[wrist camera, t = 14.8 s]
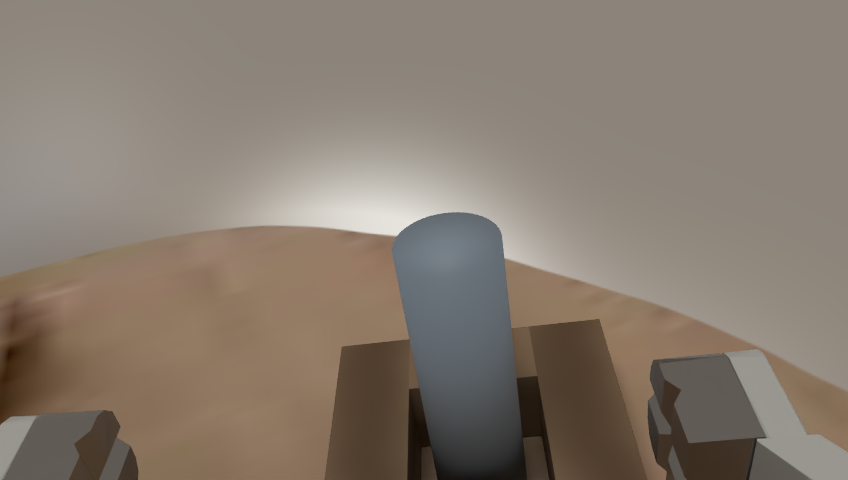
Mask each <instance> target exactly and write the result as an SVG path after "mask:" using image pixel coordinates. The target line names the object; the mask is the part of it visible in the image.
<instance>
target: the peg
mask: <svg viewBox="0 0 848 480" xmlns="http://www.w3.org/2000/svg"><path fill="white" fill-rule="evenodd" d="M392 253H393V258H394V263H395V268H396V273H397V278H398V284H399V289H400V294H401V299H402V304H403V309H404V314H405V319H406V324H407V329H408V334H409V339H410V344H411V349H412V354H413V359H414V364H415V369H416V374H417V379H418V384H419V389H420V394H421V399H422V404H423V409H424V414H425V419H426V424H427V429H428V434H429V439H430V444H431V449H432V454H433V459H434V464H435V469H436V474H437V479H438V480H527V476H526V467H525V457H524V447H523V437H522V428H521V418H520V408H519V398H518V389H517V379H516V369H515V359H514V350H513V340H512V330H511V320H510V311H509V301H508V291H507V281H506V272H505V262H504V253H503V242H502V235H501V232H500V230H499V228H498V227H497V225H496V224H494V223H493V222H492V221H490V220H489V219H487V218H484V217H482V216H479V215H475V214H470V213H459V212H458V213H443V214H437V215H433V216H429V217H426V218H423V219H421V220H418V221H416V222H414V223H413V224H411V225H409V226H408V227H406V228H405V229H404V230H403V231H401V232H400V233H399V235H398V236H397V237H396V239H395V240H394V243H393V247H392Z"/></svg>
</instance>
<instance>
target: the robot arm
mask: <svg viewBox="0 0 848 480" xmlns="http://www.w3.org/2000/svg"><path fill="white" fill-rule="evenodd" d="M650 381H651V384H652V387H653V390H654V393H655V394H654V395H653V396H652V397H651V398H650V399H649V400H648V425H649V435H650V440H651V444H652V449H653V452H654V455H655V459H656V462H657V464H658V465H660V466H661V467H662V468H663V469H665V470H666V471H667V475H666V480H848V452H846V451H845V450H843V449H842V448H840V447H839V446H837V445H835V444H834V443H832V442H831V441H829V440H828V439H826V438H825V437H823V436H821V435H820V434H814V435H808V433H807V431H806V429H805V427H804V426H803V424H802V422H801V420H800V418H799V416H798V415H797V413H796V411H795V409H794V407H793V406H792V404H791V402H790V400H789V398H788V397H787V395H786V393H785V391H784V389H783V387H782V386H781V384H780V382H779V380H778V378H777V377H776V375H775V373H774V371H773V369H772V367H771V366H770V364H769V362H768V360H767V358H766V357H765V355H764V353H762V352H761V351H760V350H758V349H756V350H746V351H736V352H726V353H723V354H720V353H717V354H707V355H697V356H687V357H677V358H667V359H657V360H653V363H652V365H651V372H650ZM119 429H120V424H119V423H118V421H117V419H116V417H115V416H114V414H113V412H112V411H106V410H100V411H84V412H69V413H54V414H42V415H33V416H17V417H10V418H9V419H7V420H6V421H5V422H3V423H2V424H1V425H0V480H138V467H137V462H136V457H135V455H134V453H133V451H132V449H131V446H129V445H128V444H126V443H125V442H123V441H121V440H120V439H118V438H117V434H118V432H119Z"/></svg>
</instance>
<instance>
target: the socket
mask: <svg viewBox="0 0 848 480" xmlns="http://www.w3.org/2000/svg"><path fill="white" fill-rule="evenodd" d="M511 330H512V340H513V350H514V359H515V369H516V379H517V389H518V398H519V408H520V418H521V428H522V437H527V436H537V435H542V438H543V444H544V450H545V456H546V462H547V468H548V474H549V480H647V479H646V475H645V472H644V468H643V465H642V462H641V458H640V455H639V452H638V448H637V445H636V441H635V438H634V435H633V431H632V428H631V425H630V421H629V418H628V415H627V411H626V408H625V404H624V401H623V398H622V394H621V391H620V388H619V384H618V381H617V377H616V374H615V371H614V367H613V364H612V361H611V357H610V354H609V351H608V347H607V344H606V340H605V337H604V334H603V330H602V327H601V324H600V320H599V319H596V320H586V321H577V322H568V323H558V324H549V325H540V326H530V327H521V328H512V329H511ZM423 446H431V444H430V439H429V434H428V429H427V424H426V419H425V414H424V409H423V404H422V399H421V394H420V389H419V384H418V379H417V374H416V369H415V364H414V359H413V354H412V349H411V344H410V339H409V340H400V341H390V342H381V343H372V344H362V345H353V346H344V347H342V350H341V358H340V365H339V373H338V381H337V389H336V396H335V404H334V412H333V420H332V428H331V435H330V443H329V451H328V459H327V466H326V474H325V480H421V447H423Z"/></svg>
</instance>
